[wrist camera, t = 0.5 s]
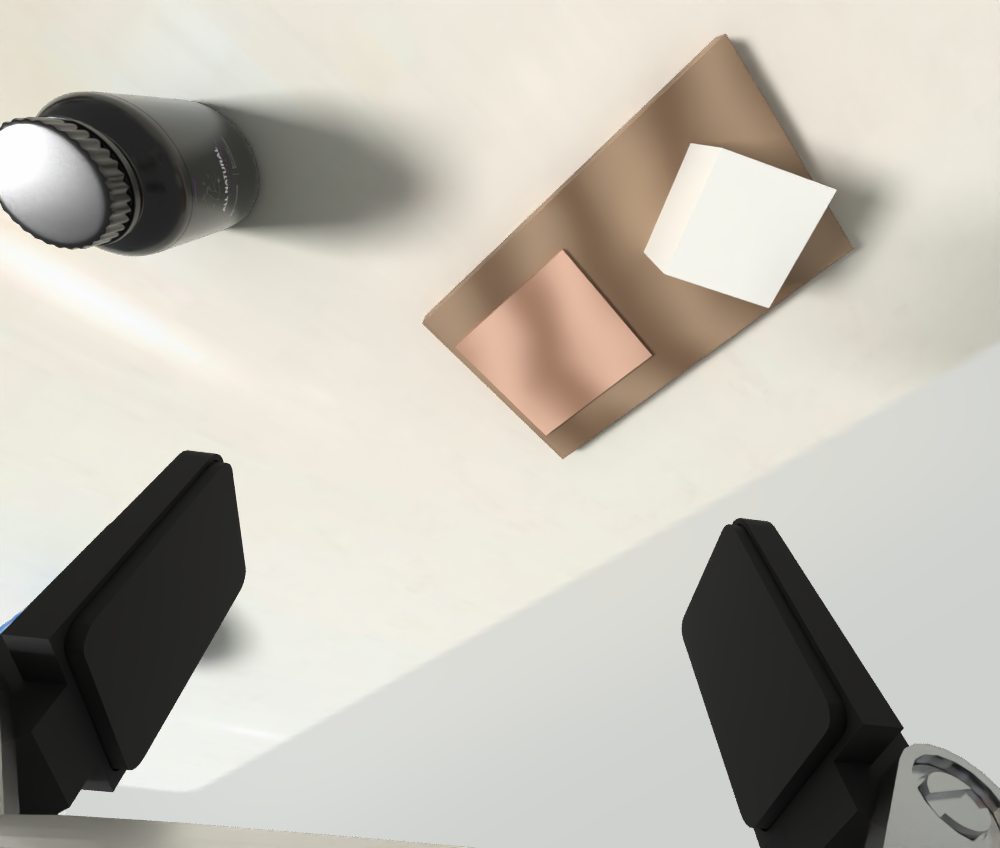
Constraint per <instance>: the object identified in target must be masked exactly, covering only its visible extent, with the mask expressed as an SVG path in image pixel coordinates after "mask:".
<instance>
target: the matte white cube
mask: <svg viewBox="0 0 1000 848" xmlns="http://www.w3.org/2000/svg"><path fill="white" fill-rule="evenodd" d="M836 191H837V190H836V189H833V188H831V187H828V186H825V185H822V184H820V183H817V182H814V181H811V180H809V179H806V178H803V177H800V176H798V175H795V174H792V173H789V172H787V171H784V170H781V169H779V168H776V167H773V166H770V165H768V164H765V163H762V162H759V161H757V160H754V159H751V158H748V157H746V156H743V155H740V154H737V153H735V152H732V151H729V150H727V149H724V148H720V147H713V146H707V145H700V144H693V143H690V146H689V148H688V150H687V153H686V155H685V157H684V160H683V162H682V164H681V167H680V169H679V171H678V174H677V176H676V178H675V181H674V183H673V185H672V188H671V190H670V192H669V195H668V197H667V199H666V202H665V204H664V206H663V209H662V211H661V213H660V216H659V218H658V220H657V222H656V225H655V227H654V229H653V232H652V234H651V236H650V239H649V241H648V243H647V246H646V248H645V250H644V253H645V254H646V255H647V257H648V258H649V259H650V260H651V261H652V262H653V263H654V264H655V265H656V266H657V267H658V268H659V269H660V270H661V271H662V272H663V273H664V274H666V275H669V276H672V277H675V278H678V279H681V280H684V281H687V282H690V283H693V284H696V285H699V286H702V287H706V288H709V289H712V290H715V291H718V292H721V293H724V294H727V295H730V296H733V297H736V298H739V299H742V300H745V301H748V302H751V303H754V304H757V305H761V306H764V307H767V308H769V307H770V306H771V304H772V302H773V300H774V299H775V297H776V295H777V293H778V292H779V290H780V288H781V286H782V285H783V283H784V281H785V279H786V278H787V276H788V274H789V272H790V271H791V269H792V267H793V265H794V264H795V262H796V260H797V259H798V257H799V255H800V253H801V252H802V250H803V248H804V246H805V245H806V243H807V241H808V239H809V238H810V236H811V234H812V232H813V231H814V229H815V227H816V225H817V224H818V222H819V220H820V218H821V217H822V215H823V213H824V211H825V210H826V208H827V206H828V205H829V203H830V201H831V199H832V198H833V196H834V194H835V192H836Z"/></svg>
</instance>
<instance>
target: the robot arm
mask: <svg viewBox="0 0 1000 848" xmlns="http://www.w3.org/2000/svg"><path fill="white" fill-rule="evenodd" d="M245 573H246V568H245V560H244V553H243V546H242V538H241V531H240V523H239V516H238V509H237V501H236V494H235V486H234V479H233V472H232V467H231V465H230V464H228V463H224V462H223V459H222V457H221V456H220V455H218V454H213V453H205V452H197V451H188V450H187V451H183V452H182V453H180V454H179V455H178V456H177V457H176V458H175V459H174V460H173V461H172V462H171V463H170V464H169V465H168V466H167V467H166V468H165V469H164V470H163V471H162V472H161V473H160V474H159V475H158V476H157V477H156V478H155V479H154V480H153V481H152V482H151V483H150V484H149V485H148V486H147V487H146V488H145V490H144V491H143V492H142V493H141V494H140V495H139V496H138V497H137V498H136V499H135V500H134V501H133V502H132V503H131V504H130V505H129V506H128V507H127V508H126V509H125V510H124V511H123V512H122V513H121V514H120V515H119V516H118V517H117V518H116V519H115V520H114V521H113V522H112V523H110V524H109V525H108V526H107V527H106V528H105V529H104V530H103V531H102V532H101V533H100V534H99V535H98V536H97V537H96V538H95V539H94V540H93V541H92V542H91V543H90V544H89V545H88V546H87V547H86V548H85V549H84V550H83V551H82V552H81V553H80V554H79V555H78V556H77V557H76V558H75V559H74V560H73V561H72V562H71V563H70V564H69V565H68V566H67V567H66V568H65V569H64V570H63V571H62V572H61V573H60V574H59V575H58V576H57V577H56V578H55V579H54V580H53V581H52V582H51V583H50V584H49V585H48V586H47V587H46V588H45V589H44V590H43V591H42V592H41V593H40V594H39V595H38V596H37V597H36V598H35V599H34V600H33V601H32V602H31V603H30V604H29V605H28V606H27V608H26V609H25V610H24V611H23V612H22V613H21V614H20V615H19V616H18V617H17V618H16V619H15V620H14V621H13V622H12V623H11V624H10V625H9V626H8V627H7V628H6V629H5V630H4V631H3V632H2V633H1V634H0V848H473V847H462V846H450V845H439V844H427V843H415V842H404V841H393V840H381V839H371V838H359V837H346V836H335V835H323V834H311V833H298V832H287V831H275V830H274V831H273V830H262V829H251V828H238V827H226V826H215V825H203V824H191V823H178V822H162V821H147V820H131V819H115V818H99V817H84V816H67V815H66V809H67V808H69V807H70V806H71V804H72V802H73V801H74V800H75V798H76V796H77V795H78V793H79V792H80V790H81V789H83V790H94V791H106V792H113V791H114V790H115V788H116V786H117V785H118V783H119V781H120V780H121V778H122V776H123V775H124V773H125V771H126V770H133V769H135V768H136V767H137V766H138V765H139V764H140V763H141V761H142V760H143V758H144V757H145V755H146V753H147V751H148V750H149V748H150V746H151V745H152V743H153V741H154V739H155V738H156V736H157V734H158V732H159V731H160V729H161V727H162V725H163V724H164V722H165V720H166V718H167V717H168V715H169V713H170V712H171V710H172V708H173V706H174V705H175V703H176V701H177V699H178V698H179V696H180V694H181V692H182V691H183V689H184V687H185V685H186V684H187V682H188V680H189V679H190V677H191V675H192V673H193V672H194V670H195V668H196V666H197V665H198V663H199V661H200V659H201V658H202V656H203V654H204V652H205V651H206V649H207V647H208V646H209V644H210V642H211V640H212V639H213V637H214V635H215V633H216V632H217V630H218V628H219V626H220V625H221V623H222V621H223V620H224V618H225V616H226V614H227V613H228V611H229V609H230V607H231V606H232V604H233V602H234V600H235V599H236V597H237V595H238V593H239V592H240V590H241V588H242V586H243V583H244V579H245ZM682 636H683V640H684V643H685V646H686V649H687V652H688V654H689V658H690V661H691V664H692V667H693V670H694V673H695V676H696V679H697V682H698V685H699V688H700V691H701V694H702V697H703V700H704V703H705V706H706V710H707V712H708V716H709V719H710V722H711V725H712V728H713V731H714V734H715V737H716V740H717V743H718V746H719V749H720V752H721V755H722V758H723V761H724V764H725V767H726V770H727V773H728V776H729V779H730V782H731V786H732V789H733V792H734V795H735V798H736V801H737V804H738V807H739V809H740V813H741V815H742V818H743V820H744V821H745V823H746V824H747V825H748V826H749V827H751V828H754V831H755V834H756V837H757V840H758V842H759V846H760V848H1000V788H999V787H998V786H997V785H995V784H994V783H993V782H992V781H991V780H990V779H989V778H988V777H987V776H986V775H985V774H983V772H981V771H980V770H979V769H977V768H976V767H975V766H973V765H972V764H970V763H969V762H968V761H966V760H965V759H963V758H962V757H960V756H958V755H956V754H954V753H952V752H950V751H948V750H946V749H944V748H940V747H936V746H933V745H930V744H913V745H911V746H909V745H908V744H907V742H906V740H905V739H904V737H903V736H902V734H901V731H902V730H903V726H902V725H901V723H900V722H899V720H898V718H897V717H896V715H895V714H894V712H893V711H892V709H891V708H890V706H889V704H888V703H887V701H886V700H885V698H884V697H883V695H882V693H881V692H880V690H879V689H878V687H877V686H876V684H875V683H874V681H873V679H872V678H871V677H870V675H869V673H868V672H867V670H866V669H865V667H864V665H863V664H862V662H861V661H860V659H859V658H858V656H857V655H856V653H855V652H854V650H853V648H852V647H851V645H850V644H849V642H848V641H847V639H846V637H845V636H844V634H843V633H842V631H841V630H840V628H839V627H838V625H837V624H836V622H835V621H834V619H833V617H832V616H831V614H830V613H829V611H828V609H827V608H826V606H825V605H824V603H823V602H822V600H821V599H820V597H819V596H818V594H817V593H816V591H815V589H814V588H813V586H812V585H811V583H810V581H809V580H808V578H807V577H806V575H805V574H804V572H803V570H802V569H801V567H800V566H799V564H798V563H797V561H796V560H795V558H794V557H793V555H792V553H791V552H790V550H789V549H788V547H787V546H786V544H785V542H784V541H783V539H782V538H781V536H780V535H779V533H778V532H777V530H776V528H775V527H774V526H773V525H772V524H771V523H770V522H767V521H760V520H751V519H743V518H739V519H736V520H735V521H734V522H733V524H732V525H730V524H729V525H726V526H725V527H724V528H723V530H722V532H721V535H720V537H719V539H718V541H717V544H716V546H715V548H714V550H713V553H712V555H711V557H710V559H709V561H708V564H707V566H706V568H705V570H704V573H703V575H702V577H701V579H700V582H699V584H698V586H697V588H696V591H695V593H694V595H693V597H692V600H691V602H690V604H689V606H688V609H687V611H686V613H685V615H684V618H683V621H682Z"/></svg>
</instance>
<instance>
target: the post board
mask: <svg viewBox="0 0 1000 848" xmlns="http://www.w3.org/2000/svg"><path fill="white" fill-rule="evenodd" d="M690 143H693V144H700V145H707V146H713V147H720V148H724V149H727V150H729V151H732V152H735V153H737V154H740V155H743V156H746V157H748V158H751V159H754V160H757V161H759V162H762V163H765V164H768V165H770V166H773V167H776V168H779V169H781V170H784V171H787V172H789V173H792V174H795V175H798V176H800V177H803V178H806V179H809V180H811V181H813V180H812V178H811V176H810V175H809V173H808V171H807V170H806V168H805V166H804V165H803V163H802V161H801V159H800V158H799V156H798V154H797V153H796V151H795V149H794V148H793V146H792V144H791V143H790V141H789V139H788V138H787V136H786V134H785V133H784V131H783V129H782V128H781V126H780V124H779V123H778V121H777V119H776V117H775V116H774V114H773V112H772V111H771V109H770V107H769V106H768V104H767V102H766V101H765V99H764V97H763V96H762V94H761V92H760V91H759V89H758V87H757V86H756V84H755V82H754V80H753V79H752V77H751V75H750V74H749V72H748V70H747V69H746V67H745V65H744V64H743V62H742V60H741V59H740V57H739V55H738V54H737V52H736V50H735V49H734V47H733V45H732V44H731V42H730V40H729V38H728V37H727V35H726V34H724V35H721V36H719V37H716V38H715V39H714V40H713V41H712V42H711V43H710V44H709V45H708V46H706V47H705V48H704V49H703V50H702V51H701V52H700V53H699V54H698V55H697V56H696V57H695V58H694V59H693V60H692V61H691V62H690V63H689V64H688V65H687V66H686V67H685V68H684V69H682V70H681V71H680V72H679V73H678V74H677V75H676V76H675V77H674V78H673V79H672V80H671V81H670V82H669V83H668V84H667V85H666V86H665V87H664V88H663V89H662V90H661V91H660V92H659V93H657V94H656V95H655V96H654V97H653V98H652V99H651V100H650V101H649V102H648V103H647V104H646V105H645V106H644V107H643V108H642V109H641V110H640V111H639V112H638V113H637V114H636V115H635V116H633V117H632V118H631V119H630V120H629V121H628V122H627V123H626V124H625V125H624V126H623V127H622V128H621V129H620V130H619V131H618V132H617V133H616V134H615V135H614V136H613V137H612V138H611V139H609V140H608V141H607V142H606V143H605V144H604V145H603V146H602V147H601V148H600V149H599V150H598V151H597V152H596V153H595V154H594V155H593V156H592V157H591V158H590V159H589V160H588V161H587V162H586V163H584V164H583V165H582V166H581V167H580V168H579V169H578V170H577V171H576V172H575V173H574V174H573V175H572V176H571V177H570V178H569V179H568V180H567V181H566V182H565V183H564V184H563V185H562V186H560V187H559V188H558V189H557V190H556V191H555V192H554V193H553V194H552V195H551V196H550V197H549V198H548V199H547V200H546V201H545V202H544V203H543V204H542V205H541V206H540V207H539V208H538V209H537V210H535V211H534V212H533V213H532V214H531V215H530V216H529V217H528V218H527V219H526V220H525V221H524V222H523V223H522V224H521V225H520V226H519V227H518V228H517V229H516V230H515V231H514V232H513V233H511V234H510V235H509V236H508V237H507V238H506V239H505V240H504V241H503V242H502V243H501V244H500V245H499V246H498V247H497V248H496V249H495V250H494V251H493V252H492V253H491V254H490V255H489V256H488V257H486V258H485V259H484V260H483V261H482V262H481V263H480V264H479V265H478V266H477V267H476V268H475V269H474V270H473V271H472V272H471V273H470V274H469V275H468V276H467V277H466V278H465V279H464V280H462V281H461V282H460V283H459V284H458V285H457V286H456V287H455V288H454V289H453V290H452V291H451V292H450V293H449V294H448V295H447V296H446V297H445V298H444V299H443V300H442V301H441V302H440V303H438V304H437V305H436V306H435V307H434V308H433V309H432V310H431V311H430V312H429V313H428V314H427V315H426V316H425V318H424V321H423V323H422V324H423V325H424V326H425V327H426V328H427V329H429V330H430V331H431V332H432V333H433V334H434V335H435V336H436V337H437V338H438V339H439V340H440V341H441V342H442V343H443V344H444V345H445V346H446V347H447V348H448V349H449V350H450V351H451V352H452V353H453V354H454V355H455V356H456V357H457V358H459V359H460V360H461V361H462V362H463V363H464V364H465V365H466V366H467V367H468V368H469V369H470V370H471V371H472V372H473V373H474V374H475V375H476V376H477V377H478V378H479V379H480V380H481V381H482V382H483V383H484V384H485V385H486V386H487V387H489V388H490V389H491V390H492V391H493V392H494V393H495V394H496V395H497V396H498V397H499V398H500V399H501V400H502V401H503V402H504V403H505V404H506V405H507V406H508V407H509V408H510V409H511V410H512V411H513V412H514V413H515V414H516V415H517V416H519V417H520V418H521V419H522V420H523V421H524V422H525V423H526V424H527V425H528V426H529V427H530V428H531V429H532V430H533V431H534V432H535V433H536V434H537V435H538V436H539V437H540V438H541V439H542V440H543V441H544V442H545V443H546V444H547V445H549V446H550V447H551V448H552V449H553V450H554V451H555V452H556V453H557V454H558V455H559V456H560V457H561V458H562V459H564V458H565V457H567V456H568V455H569V454H571V453H572V452H574V451H575V450H576V449H578V448H579V447H580V446H582V445H583V444H585V443H586V442H587V441H589V440H590V439H591V438H593V437H594V436H596V435H597V434H598V433H600V432H601V431H602V430H604V429H605V428H607V427H608V426H609V425H611V424H612V423H614V422H615V421H616V420H618V419H619V418H620V417H622V416H623V415H625V414H626V413H627V412H629V411H630V410H631V409H633V408H634V407H636V406H637V405H638V404H640V403H641V402H643V401H644V400H645V399H647V398H648V397H649V396H651V395H652V394H654V393H655V392H656V391H658V390H659V389H660V388H662V387H663V386H665V385H666V384H667V383H669V382H670V381H671V380H673V379H674V378H676V377H677V376H678V375H680V374H681V373H683V372H684V371H685V370H687V369H688V368H689V367H691V366H692V365H694V364H695V363H696V362H698V361H699V360H700V359H702V358H703V357H705V356H706V355H707V354H709V353H710V352H711V351H713V350H714V349H716V348H717V347H718V346H720V345H721V344H723V343H724V342H725V341H727V340H728V339H729V338H731V337H732V336H734V335H735V334H736V333H738V332H739V331H740V330H742V329H743V328H745V327H746V326H747V325H749V324H750V323H752V322H753V321H754V320H756V319H757V318H758V317H760V316H761V315H763V314H764V313H765V312H767V311H768V310H769V309H771V308H772V307H774V306H775V305H776V304H778V303H779V302H780V301H782V300H783V299H785V298H786V297H787V296H789V295H790V294H792V293H793V292H794V291H796V290H797V289H798V288H800V287H801V286H803V285H804V284H805V283H807V282H808V281H809V280H811V279H812V278H814V277H815V276H816V275H818V274H819V273H821V272H822V271H823V270H825V269H826V268H827V267H829V266H830V265H832V264H833V263H834V262H836V261H837V260H838V259H840V258H841V257H843V256H844V255H845V254H847V253H848V252H849V251H851V250H852V249H853V247H852V245H851V244H850V242H849V240H848V238H847V237H846V235H845V233H844V232H843V230H842V228H841V227H840V225H839V223H838V222H837V220H836V218H835V217H834V215H833V213H832V212H831V210H830V208H829V207H828V206H827V208H826V210H825V211H824V213H823V215H822V217H821V218H820V220H819V222H818V224H817V225H816V227H815V229H814V231H813V232H812V234H811V236H810V238H809V239H808V241H807V243H806V245H805V246H804V248H803V250H802V252H801V253H800V255H799V257H798V259H797V260H796V262H795V264H794V265H793V267H792V269H791V271H790V272H789V274H788V276H787V278H786V279H785V281H784V283H783V285H782V286H781V288H780V290H779V292H778V293H777V295H776V297H775V299H774V300H773V302H772V304H771V306H770V307H769V308H767V307H764V306H761V305H757V304H754V303H751V302H748V301H745V300H742V299H739V298H736V297H733V296H730V295H727V294H724V293H721V292H718V291H715V290H712V289H709V288H706V287H702V286H699V285H696V284H693V283H690V282H687V281H684V280H681V279H678V278H675V277H672V276H669V275H666V274H664V273H663V272H662V271H661V270H660V269H659V268H658V267H657V266H656V265H655V264H654V263H653V262H652V261H651V260H650V259H649V258H648V257H647V255H646V254H645V253H644V250H645V248H646V246H647V243H648V241H649V239H650V236H651V234H652V232H653V229H654V227H655V225H656V222H657V220H658V218H659V216H660V213H661V211H662V209H663V206H664V204H665V202H666V199H667V197H668V195H669V192H670V190H671V188H672V185H673V183H674V181H675V178H676V176H677V174H678V171H679V169H680V167H681V164H682V162H683V160H684V157H685V155H686V153H687V150H688V148H689V146H690Z"/></svg>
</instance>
